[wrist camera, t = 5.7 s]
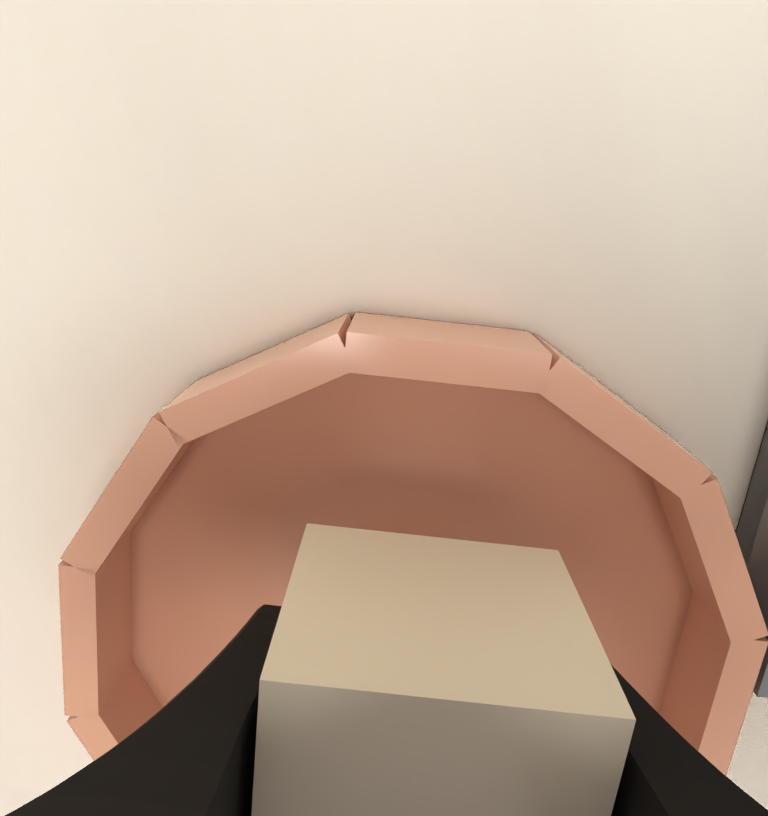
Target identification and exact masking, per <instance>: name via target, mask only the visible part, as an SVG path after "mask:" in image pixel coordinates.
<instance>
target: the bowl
mask: <svg viewBox="0 0 768 816" xmlns="http://www.w3.org/2000/svg"><path fill="white" fill-rule="evenodd" d="M712 473H713V472H712V471H711V470H709V469H708V468H707V467H706V466H705V465H703V464H702V463H701V462H700V461H699V460H698V459H696V458H695V457H694V456H693V455H692V454H690V453H689V452H688V451H687V450H686V449H685V448H683V447H682V446H681V445H680V444H679V443H677V442H676V441H675V440H674V439H673V438H672V437H670V436H669V435H668V434H667V433H666V432H665V431H663V430H662V429H661V428H659V427H658V426H657V425H655V424H654V423H653V422H651V421H650V420H649V419H647V418H646V417H645V416H643V415H642V414H641V413H639V412H638V411H637V410H635V409H634V408H633V407H631V406H630V405H629V404H628V403H626V402H625V401H624V400H622V399H621V398H620V397H618V396H617V395H616V394H614V393H613V392H612V391H610V390H609V389H608V388H606V387H605V386H604V385H602V384H601V383H600V382H598V381H597V380H596V379H594V378H593V377H592V376H591V375H589V374H588V373H587V372H585V371H584V370H583V369H581V368H580V367H579V366H577V365H576V364H575V363H573V362H572V361H571V360H569V359H568V358H567V357H565V356H564V355H563V354H561V353H560V352H559V351H557V350H556V349H555V348H554V347H552V346H551V345H550V344H548V343H547V342H546V341H544V340H543V339H542V338H540V337H539V336H538V335H536V334H534V335H532V334H531V333H530V332H529V331H525V330H515V329H506V328H497V327H488V326H479V325H470V324H461V323H452V322H442V321H433V320H424V319H415V318H406V317H397V316H388V315H379V314H369V313H360V312H356V313H355V315H354V317H353V319H352V320H351V317H350V315H349V313H348V314H345V315H343V316H341V317H339V318H336V319H334V320H332V321H330V322H327V323H325V324H323V325H321V326H318V327H316V328H314V329H312V330H309V331H307V332H305V333H303V334H300V335H298V336H296V337H294V338H291V339H289V340H287V341H285V342H282V343H280V344H278V345H276V346H273V347H271V348H269V349H267V350H264V351H262V352H260V353H258V354H255V355H253V356H251V357H249V358H246V359H244V360H242V361H240V362H237V363H235V364H233V365H231V366H228V367H226V368H224V369H222V370H219V371H217V372H215V373H213V374H210V375H208V376H206V377H204V378H201V379H199V380H197V381H196V382H195V383H193V384H192V385H191V386H190V387H188V388H187V389H186V390H185V391H184V392H182V393H181V394H180V395H179V396H178V397H176V398H175V399H174V400H173V401H171V402H170V403H169V404H168V405H167V406H165V407H164V408H163V409H162V410H160V411H159V412H158V413H157V414H156V415H155V416H153V417H152V419H151V420H150V422H149V423H148V425H147V426H146V428H145V429H144V431H143V432H142V434H141V436H140V437H139V439H138V440H137V442H136V443H135V445H134V446H133V448H132V449H131V451H130V452H129V454H128V455H127V457H126V458H125V460H124V462H123V463H122V465H121V466H120V468H119V469H118V471H117V472H116V474H115V475H114V477H113V478H112V480H111V481H110V483H109V484H108V486H107V488H106V489H105V491H104V492H103V494H102V495H101V497H100V498H99V500H98V501H97V503H96V504H95V506H94V507H93V509H92V511H91V512H90V514H89V515H88V517H87V518H86V520H85V521H84V523H83V524H82V526H81V527H80V529H79V530H78V532H77V533H76V535H75V537H74V538H73V540H72V541H71V543H70V544H69V546H68V547H67V549H66V550H65V552H64V553H63V555H62V556H61V558H60V559H62V560H63V561H62V562H61V563H60V564H59V589H60V613H61V637H62V662H63V686H64V710H65V715H67V716H70V717H69V719H68V720H67V722H68V724H69V725H70V727H71V728H72V729H73V731H74V732H75V734H76V735H77V737H78V738H79V740H80V741H81V742H82V744H83V745H84V747H85V748H86V750H87V751H88V753H89V754H90V755H91V757H92V758H93V760H94V761H95V760H96V759H98V758H99V757H100V756H102V755H103V754H105V753H106V752H108V751H109V750H110V749H112V748H113V747H114V746H116V745H117V744H118V743H120V742H121V741H122V740H124V739H125V738H126V737H128V736H129V735H130V734H131V733H133V732H134V731H135V730H137V729H138V728H139V727H140V726H142V725H143V724H144V723H145V722H146V721H148V720H149V719H150V718H151V717H152V716H154V715H155V714H156V713H157V712H158V711H160V710H161V709H162V708H163V707H164V706H165V705H166V704H167V703H168V702H170V701H171V700H172V699H173V698H174V697H175V696H176V695H177V694H178V693H179V692H180V691H182V690H183V689H184V688H185V687H186V686H187V685H188V684H189V683H190V682H191V681H192V680H193V679H195V678H196V677H197V676H198V675H199V674H200V673H201V672H202V671H203V669H204V668H205V667H206V666H207V665H208V664H209V663H210V662H211V661H212V660H213V659H214V658H215V657H216V656H217V655H218V654H219V653H220V652H221V651H222V650H223V649H224V648H225V647H226V646H227V644H228V643H229V642H230V641H231V640H232V639H233V638H234V637H235V636H236V634H237V633H238V632H239V631H240V630H241V629H242V627H243V626H244V625H245V624H246V623H247V621H248V620H249V619H250V618H251V617H252V615H253V614H254V613H255V611H256V610H257V609H258V608H260V607H261V606H262V605H264V604H266V605H276V606H282V604H283V601H284V597H285V594H286V591H287V587H288V584H289V581H290V578H291V574H292V571H293V568H294V564H295V561H296V558H297V554H298V551H299V548H300V544H301V541H302V538H303V534H304V531H305V528H306V525H307V523H309V524H319V525H328V526H337V527H347V528H356V529H365V530H375V531H384V532H393V533H403V534H412V535H421V536H430V537H440V538H449V539H458V540H468V541H477V542H486V543H496V544H505V545H514V546H524V547H533V548H542V549H551V550H558V551H559V553H560V555H561V557H562V560H563V562H564V564H565V566H566V568H567V570H568V573H569V575H570V577H571V579H572V581H573V583H574V586H575V588H576V590H577V592H578V594H579V596H580V599H581V601H582V603H583V605H584V607H585V610H586V612H587V614H588V616H589V618H590V620H591V623H592V625H593V627H594V629H595V631H596V633H597V636H598V638H599V640H600V642H601V644H602V646H603V649H604V651H605V653H606V655H607V657H608V659H609V662H610V664H611V665H612V666H613V667H614V668H615V669H616V670H617V671H618V672H619V673H620V674H621V675H622V676H623V677H624V678H625V679H626V681H627V682H628V683H629V684H630V685H631V686H632V687H633V688H634V689H635V690H636V691H637V692H638V693H639V694H640V695H641V696H642V697H643V698H644V699H645V700H646V701H647V702H648V703H649V704H650V705H651V706H652V707H653V708H654V709H655V710H656V711H657V712H658V713H659V714H660V715H661V716H662V717H663V718H664V719H665V720H666V721H667V722H668V723H669V724H670V725H671V726H672V727H673V728H674V729H675V730H676V731H677V732H678V733H679V734H680V735H681V736H682V737H683V738H684V739H685V740H686V741H687V742H689V743H690V744H691V745H692V746H693V747H694V748H695V749H696V750H697V751H698V752H700V753H701V754H702V755H703V756H704V757H705V758H706V759H707V760H708V761H709V762H711V763H712V764H713V765H714V766H715V767H716V768H717V769H718V770H719V771H720V772H722V773H723V774H724V775H725V776H726V774H727V771H728V768H729V765H730V761H731V758H732V755H733V752H734V749H735V746H736V743H737V739H738V736H739V733H740V730H741V727H742V724H743V721H744V718H745V714H746V711H747V708H748V705H749V702H750V699H751V696H752V693H753V689H754V686H755V683H756V680H757V677H758V674H759V671H760V668H761V664H762V661H763V658H764V655H765V652H766V649H767V646H768V640H767V639H766V638H765V636H768V631H767V628H766V625H765V622H764V619H763V616H762V613H761V610H760V607H759V604H758V601H757V598H756V595H755V592H754V589H753V585H752V582H751V579H750V576H749V573H748V570H747V567H746V564H745V561H744V558H743V555H742V552H741V549H740V546H739V543H738V540H737V537H736V534H735V531H734V528H733V525H732V522H731V519H730V516H729V512H728V509H727V506H726V503H725V500H724V497H723V494H722V491H721V488H720V485H719V482H718V479H717V478H716V477H715V476H714V475H712Z"/></svg>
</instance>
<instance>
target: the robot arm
mask: <svg viewBox="0 0 768 816" xmlns="http://www.w3.org/2000/svg"><path fill="white" fill-rule="evenodd" d="M281 607H282V606H276V605H266V604H264V605H262V606H261V607H260V608H258V609H257V610H256V611H255V613H254V614H253V615H252V617H251V618H250V619H249V620H248V621H247V623H246V624H245V625H244V626H243V627H242V629H241V630H240V631H239V632H238V633H237V634H236V636H235V637H234V638H233V639H232V640H231V641H230V642H229V643H228V644H227V646H226V647H225V648H224V649H223V650H222V651H221V652H220V653H219V654H218V655H217V656H216V657H215V658H214V659H213V660H212V661H211V662H210V663H209V664H208V665H207V666H206V667H205V668H204V669H203V671H202V672H201V673H200V674H199V675H198V676H197V677H196V678H195V679H193V680H192V681H191V682H190V683H189V684H188V685H187V686H186V687H185V688H184V689H183V690H182V691H180V692H179V693H178V694H177V695H176V696H175V697H174V698H173V699H172V700H171V701H170V702H168V703H167V704H166V705H165V706H164V707H163V708H162V709H161V710H160V711H158V712H157V713H156V714H155V715H154V716H152V717H151V718H150V719H149V720H148V721H146V722H145V723H144V724H143V725H142V726H140V727H139V728H138V729H137V730H135V731H134V732H133V733H131V734H130V735H129V736H128V737H126V738H125V739H124V740H122V741H121V742H120V743H118V744H117V745H116V746H114V747H113V748H112V749H110V750H109V751H108V752H106V753H105V754H103V755H102V756H100V757H99V758H98V759H96V760H95V761H93V762H92V763H90V764H89V765H87V766H86V767H85V768H83V769H82V770H80V771H78V772H77V773H75V774H74V775H72V776H71V777H69V778H68V779H66V780H65V781H63V782H62V783H60V784H59V785H57V786H56V787H54V788H52V789H51V790H49V791H47V792H46V793H44V794H42V795H41V796H39V797H37V798H35V799H34V800H32V801H30V802H29V803H27V804H25V805H23V806H22V807H20V808H18V809H17V810H15V811H13V812H11V813H9V814H7V815H5V816H251V812H252V796H253V780H254V763H255V747H256V730H257V714H258V698H259V681H260V677H261V673H262V670H263V667H264V664H265V660H266V657H267V654H268V650H269V647H270V644H271V640H272V637H273V634H274V630H275V627H276V624H277V621H278V617H279V614H280V611H281ZM611 666H612V665H611ZM612 668H613V670H614V673H615V675H616V677H617V679H618V681H619V683H620V686H621V688H622V690H623V692H624V694H625V696H626V699H627V701H628V703H629V705H630V707H631V709H632V712H633V714H634V716H635V718H636V723H635V726H634V730H633V734H632V738H631V742H630V745H629V749H628V753H627V757H626V761H625V764H624V768H623V772H622V776H621V780H620V783H619V787H618V791H617V795H616V799H615V802H614V806H613V810H612V814H611V816H768V810H767V809H765V808H764V807H763V806H762V805H760V804H759V803H758V802H757V801H755V800H754V799H753V798H752V797H750V796H749V795H748V794H747V793H745V792H744V791H743V790H742V789H740V788H739V787H738V786H737V785H736V784H734V783H733V782H732V781H731V780H730V779H729V778H727V777H726V776H725V775H724V774H723V773H722V772H720V771H719V770H718V769H717V768H716V767H715V766H714V765H713V764H712V763H711V762H709V761H708V760H707V759H706V758H705V757H704V756H703V755H702V754H701V753H700V752H698V751H697V750H696V749H695V748H694V747H693V746H692V745H691V744H690V743H689V742H687V741H686V740H685V739H684V738H683V737H682V736H681V735H680V734H679V733H678V732H677V731H676V730H675V729H674V728H673V727H672V726H671V725H670V724H669V723H668V722H667V721H666V720H665V719H664V718H663V717H662V716H661V715H660V714H659V713H658V712H657V711H656V710H655V709H654V708H653V707H652V706H651V705H650V704H649V703H648V702H647V701H646V700H645V699H644V698H643V697H642V696H641V695H640V694H639V693H638V692H637V691H636V690H635V689H634V688H633V687H632V686H631V685H630V684H629V683H628V682H627V681H626V679H625V678H624V677H623V676H622V675H621V674H620V673H619V672H618V671H617V670H616V669H615V668H614V667H613V666H612Z"/></svg>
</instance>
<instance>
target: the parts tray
mask: <svg viewBox="0 0 768 816" xmlns="http://www.w3.org/2000/svg"><path fill="white" fill-rule="evenodd" d="M736 537H737V540H738V543H739V546H740V549H741V552H742V555H743V558H744V561H745V564H746V567H747V570H748V573H749V576H750V579H751V582H752V585H753V589H754V592H755V595H756V598H757V601H758V604H759V607H760V610H761V613H762V616H763V619H764V622H765V625H766V628H767V631H768V424H767V427H766V431H765V434H764V438H763V441H762V445H761V448H760V452H759V455H758V459H757V462H756V465H755V469H754V472H753V476H752V479H751V483H750V486H749V490H748V493H747V497H746V500H745V504H744V507H743V511H742V514H741V518H740V521H739V525H738V528H737V532H736ZM765 638H766V639H767V640H768V636H765ZM753 691H754V693H755V694H756V695H757V696H758V697H768V646H767V649H766V652H765V655H764V658H763V661H762V664H761V668H760V671H759V674H758V677H757V680H756V683H755V686H754V689H753Z"/></svg>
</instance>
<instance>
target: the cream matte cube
mask: <svg viewBox="0 0 768 816" xmlns="http://www.w3.org/2000/svg"><path fill="white" fill-rule="evenodd" d="M635 723H636V718H635V716H634V714H633V712H632V709H631V707H630V705H629V703H628V701H627V699H626V696H625V694H624V692H623V690H622V688H621V686H620V683H619V681H618V679H617V677H616V675H615V673H614V670H613V668H612V666H611V664H610V662H609V659H608V657H607V655H606V653H605V651H604V649H603V646H602V644H601V642H600V640H599V638H598V636H597V633H596V631H595V629H594V627H593V625H592V623H591V620H590V618H589V616H588V614H587V612H586V610H585V607H584V605H583V603H582V601H581V599H580V596H579V594H578V592H577V590H576V588H575V586H574V583H573V581H572V579H571V577H570V575H569V573H568V570H567V568H566V566H565V564H564V562H563V560H562V557H561V555H560V553H559V551H558V550H551V549H542V548H533V547H524V546H514V545H505V544H496V543H486V542H477V541H468V540H458V539H449V538H440V537H430V536H421V535H412V534H403V533H393V532H384V531H375V530H365V529H356V528H347V527H337V526H328V525H319V524H309V523H307V525H306V528H305V531H304V534H303V538H302V541H301V544H300V548H299V551H298V554H297V558H296V561H295V564H294V568H293V571H292V574H291V578H290V581H289V584H288V587H287V591H286V594H285V597H284V601H283V604H282V607H281V611H280V614H279V617H278V621H277V624H276V627H275V630H274V634H273V637H272V640H271V644H270V647H269V650H268V654H267V657H266V660H265V664H264V667H263V670H262V673H261V677H260V681H259V698H258V714H257V730H256V747H255V763H254V780H253V796H252V812H251V816H611V814H612V810H613V806H614V802H615V799H616V795H617V791H618V787H619V783H620V780H621V776H622V772H623V768H624V764H625V761H626V757H627V753H628V749H629V745H630V742H631V738H632V734H633V730H634V726H635Z"/></svg>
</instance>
